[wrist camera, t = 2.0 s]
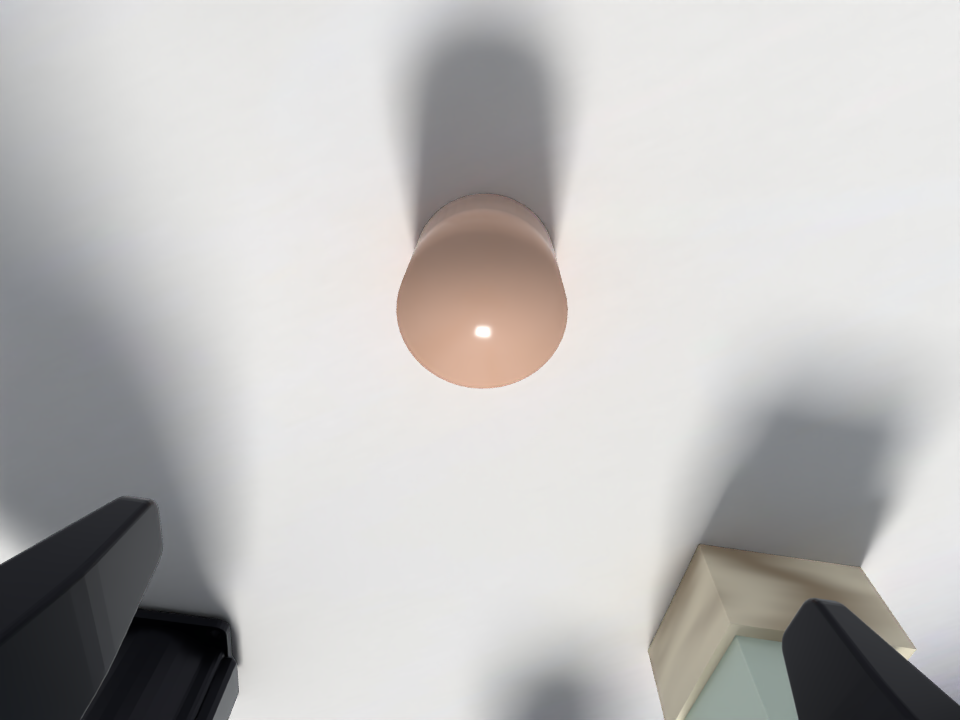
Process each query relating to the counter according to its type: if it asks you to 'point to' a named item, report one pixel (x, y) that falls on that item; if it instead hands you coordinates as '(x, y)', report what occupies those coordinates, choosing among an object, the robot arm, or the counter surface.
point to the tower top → (747, 685)
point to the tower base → (749, 613)
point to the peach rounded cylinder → (482, 293)
